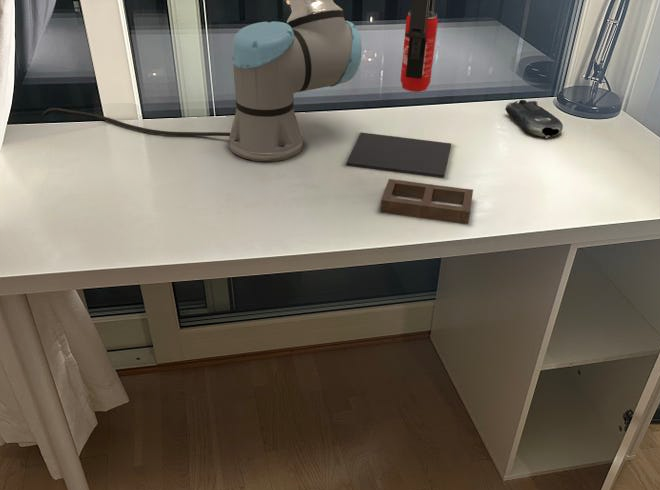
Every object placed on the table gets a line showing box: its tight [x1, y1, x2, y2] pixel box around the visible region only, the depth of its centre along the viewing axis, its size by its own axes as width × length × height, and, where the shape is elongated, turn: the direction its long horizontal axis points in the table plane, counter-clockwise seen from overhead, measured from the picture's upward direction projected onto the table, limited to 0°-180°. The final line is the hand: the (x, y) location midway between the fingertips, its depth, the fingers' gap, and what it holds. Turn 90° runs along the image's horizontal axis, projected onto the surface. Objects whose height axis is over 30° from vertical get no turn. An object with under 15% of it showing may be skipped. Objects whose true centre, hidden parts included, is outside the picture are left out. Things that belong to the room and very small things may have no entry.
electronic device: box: [504, 99, 564, 139], centre depth 162 cm, size 9×6×15 cm
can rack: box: [379, 178, 474, 225], centre depth 130 cm, size 16×9×2 cm, turn 79°
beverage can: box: [400, 10, 439, 93], centre depth 119 cm, size 5×5×12 cm
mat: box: [345, 131, 452, 179], centre depth 148 cm, size 20×16×1 cm
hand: (416, 71), depth 121 cm, fingers closed on beverage can, 5 cm apart
